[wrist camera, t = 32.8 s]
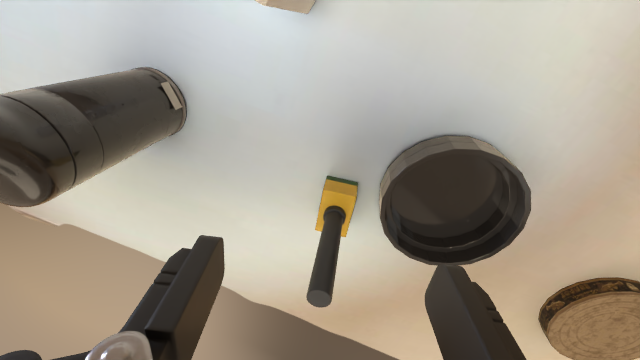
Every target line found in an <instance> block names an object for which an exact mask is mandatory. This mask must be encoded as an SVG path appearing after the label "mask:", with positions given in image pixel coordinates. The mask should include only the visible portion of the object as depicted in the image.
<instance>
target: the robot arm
mask: <svg viewBox="0 0 640 360" xmlns="http://www.w3.org/2000/svg"><path fill="white" fill-rule="evenodd" d="M185 119H186V105H185V101H184V98H183V96H182V94H181V92H180V90H179V89H178V87H177V86H176V85H175V83H174V82H173V81H172V80H171V79H170V78H169V77H167V76H166V75H165V74H163V73H161V72H160V71H158V70H155V69H152V68H147V67H141V68H135V69H132V70H129V71H123V72H117V73H111V74H106V75H100V76H95V77H89V78H84V79H78V80H73V81H68V82H62V83H57V84H51V85H46V86H40V87H35V88H29V89H25V90H19V91H14V92H8V93H3V94H0V203H3V204H6V205H10V206H16V207H32V206H36V205H40V204H43V203H45V202H47V201H49V200H51V199H53V198H55V197H57V196H59V195H61V194H62V193H64V192H66V191H68V190H70V189H72V188H73V187H75V186H77V185H79V184H81V183H83V182H84V181H86V180H88V179H90V178H92V177H93V176H95V175H97V174H99V173H101V172H103V171H104V170H106V169H108V168H110V167H112V166H114V165H115V164H117V163H119V162H121V161H123V160H125V159H127V158H128V157H130V156H132V155H134V154H136V153H138V152H139V151H141V150H143V149H145V148H147V147H149V146H151V145H152V144H154V143H156V142H158V141H160V140H162V139H164V138H166V137H167V136H171V135H173V134H175V133H176V132H178V131H179V130H180V129H181V128H182V126H183V125H184V122H185ZM223 276H224V243H223V238H221V237H213V236H204V235H201V236H199V238H198V239H197V241H196V243H195V244H194V246H193V248H192V249H186V248H182V249H181V250H179V251H178V252H177V253H175V254H174V255H173V256H171V257H170V258H169V259H168V261H167V262H166V264H165V265H164V267H163V268H162V270H161V273H159V274H158V276H157V277H156V279H155V280H154V283H153V284H152V285H151V287H150V288H149V289H148V291H147V292H146V294H145V295H144V297H143V298H142V300H141V301H140V303H139V305H138V306H137V307H136V309H135V310H134V312H133V313H132V315H131V316H130V318H129V319H128V321H127V322H126V324H125V325H124V327H123V328H122V329H121V330H120V332H118V333H117V334H114V335H112V336H110V337H108V338H106V339H104V340H103V341H102V342H100V343H99V344H98V345H97V346H95V347H94V348H93V349H92V350H91V351H88V352H84V353H81V354H76V355H71V356H66V357H61V358H57V359H52V360H191V358H192V356H193V353H194V351H195V349H196V346H197V343H198V341H199V339H200V336H201V334H202V331H203V328H204V326H205V323H206V321H207V319H208V316H209V314H210V311H211V308H212V306H213V304H214V301H215V299H216V296H217V293H218V291H219V289H220V286H221V284H222V280H223ZM425 306H426V310H427V313H428V316H429V319H430V322H431V324H432V327H433V330H434V333H435V336H436V339H437V342H438V345H439V348H440V351H441V353H442V356H443V359H444V360H526V358H525V356H524V355H523V353H522V351H521V349H520V348H519V346H518V344H517V343H516V341H515V339H514V338H513V336H512V334H511V332H510V331H509V329H508V327H507V326H506V324H505V323H503V319H502V317H501V316H500V314H499V312H498V311H496V307H495V305H494V304H493V302H492V300H491V299H490V297H489V295H488V294H487V293H486V292H485V291H484V290H483V289H482V288H481V287H480V286H479V285H478V284H477V283H476V282H471V280H470V278H469V277H468V275H467V273H466V271H465V270H464V268H463V267H461V266H455V265H447V264H439V265H438V266H437V268H436V270H435V272H434V275H433V277H432V279H431V281H430V283H429V285H428V288H427V290H426V293H425ZM0 360H42V359H41V357H40V356H39V354H37V353H36V352H33V351H29V350H20V351H15V352H11V353H7V354H5V355H2V356H0Z"/></svg>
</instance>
